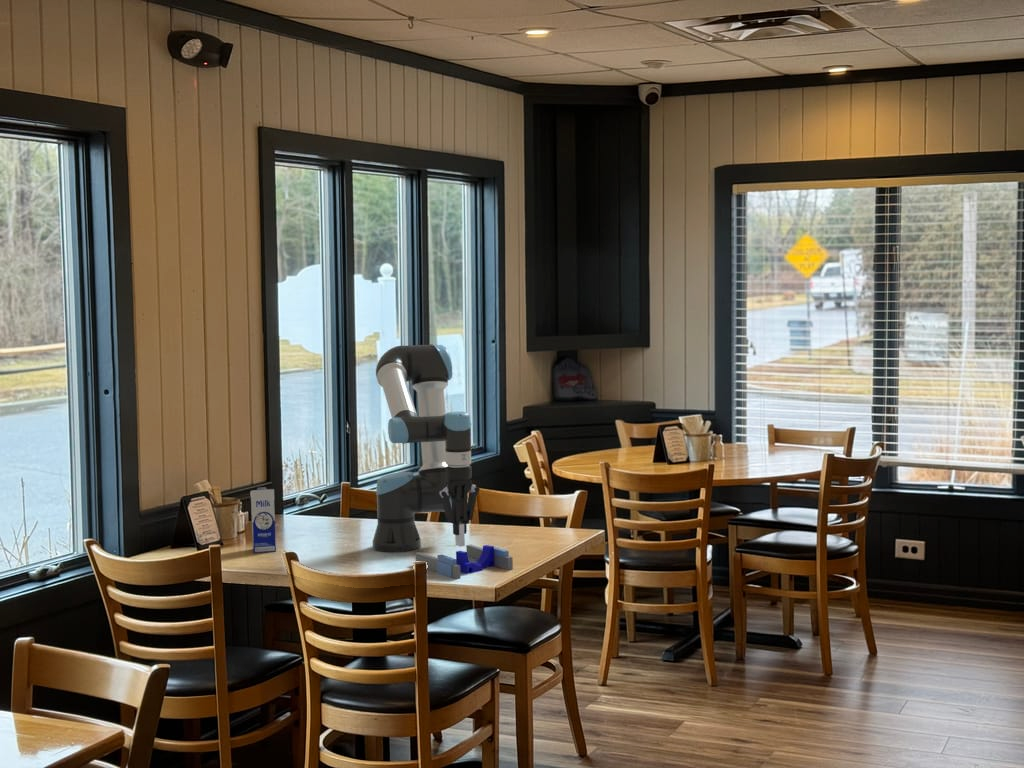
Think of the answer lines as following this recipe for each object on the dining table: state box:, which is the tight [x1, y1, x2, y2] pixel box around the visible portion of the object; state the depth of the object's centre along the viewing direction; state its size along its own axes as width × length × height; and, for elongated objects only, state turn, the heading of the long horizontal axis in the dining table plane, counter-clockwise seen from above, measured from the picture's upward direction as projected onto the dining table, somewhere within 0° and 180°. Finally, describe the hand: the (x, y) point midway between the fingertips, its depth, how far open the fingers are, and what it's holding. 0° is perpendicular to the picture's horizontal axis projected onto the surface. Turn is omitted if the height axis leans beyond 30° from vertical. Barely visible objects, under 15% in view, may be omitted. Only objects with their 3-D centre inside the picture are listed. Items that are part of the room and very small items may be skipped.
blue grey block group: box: [415, 544, 514, 580], centre depth 347 cm, size 23×19×5 cm
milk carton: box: [249, 486, 277, 554], centre depth 377 cm, size 7×7×20 cm
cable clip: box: [455, 544, 495, 575], centre depth 344 cm, size 12×4×6 cm, turn 134°
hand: (460, 545), depth 349 cm, fingers closed
